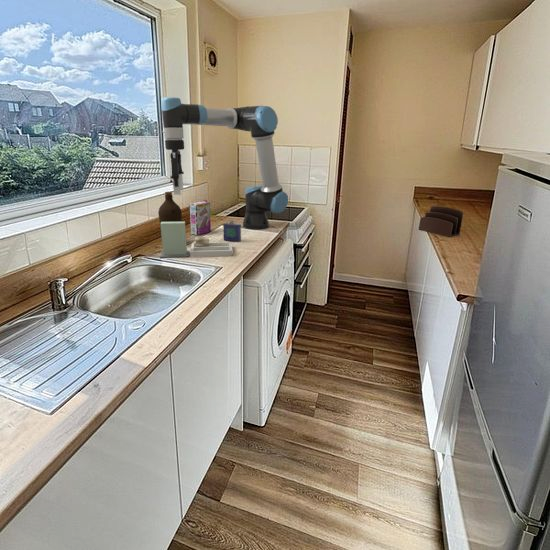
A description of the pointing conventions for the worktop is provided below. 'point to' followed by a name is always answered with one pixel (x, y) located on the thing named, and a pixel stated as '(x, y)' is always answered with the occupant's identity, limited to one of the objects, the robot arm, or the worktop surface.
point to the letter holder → (442, 221)
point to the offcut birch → (202, 241)
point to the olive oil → (169, 210)
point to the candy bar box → (200, 218)
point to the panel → (173, 238)
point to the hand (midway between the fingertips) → (178, 192)
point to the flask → (232, 232)
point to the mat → (175, 255)
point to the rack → (212, 250)
